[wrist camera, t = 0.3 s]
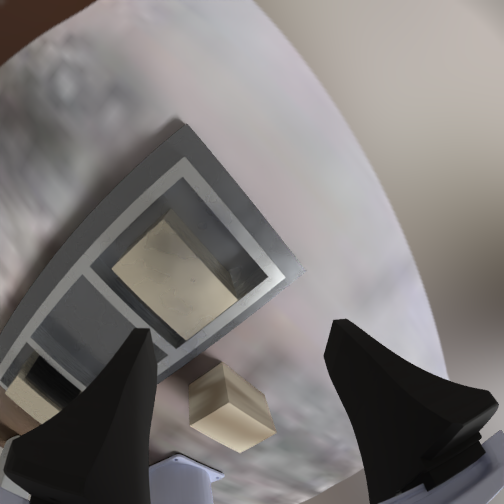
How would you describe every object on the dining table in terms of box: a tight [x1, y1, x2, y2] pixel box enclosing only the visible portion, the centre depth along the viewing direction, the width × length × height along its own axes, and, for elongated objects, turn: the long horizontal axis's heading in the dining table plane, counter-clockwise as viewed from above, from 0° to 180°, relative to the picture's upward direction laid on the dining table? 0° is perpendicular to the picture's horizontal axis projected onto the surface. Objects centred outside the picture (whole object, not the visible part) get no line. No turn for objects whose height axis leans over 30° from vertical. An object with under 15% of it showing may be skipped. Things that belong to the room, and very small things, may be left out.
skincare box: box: [0, 435, 29, 500], centre depth 17 cm, size 6×4×12 cm
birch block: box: [189, 362, 277, 453], centre depth 22 cm, size 4×6×5 cm, turn 38°
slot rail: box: [0, 124, 306, 424], centre depth 18 cm, size 30×13×5 cm, turn 128°
